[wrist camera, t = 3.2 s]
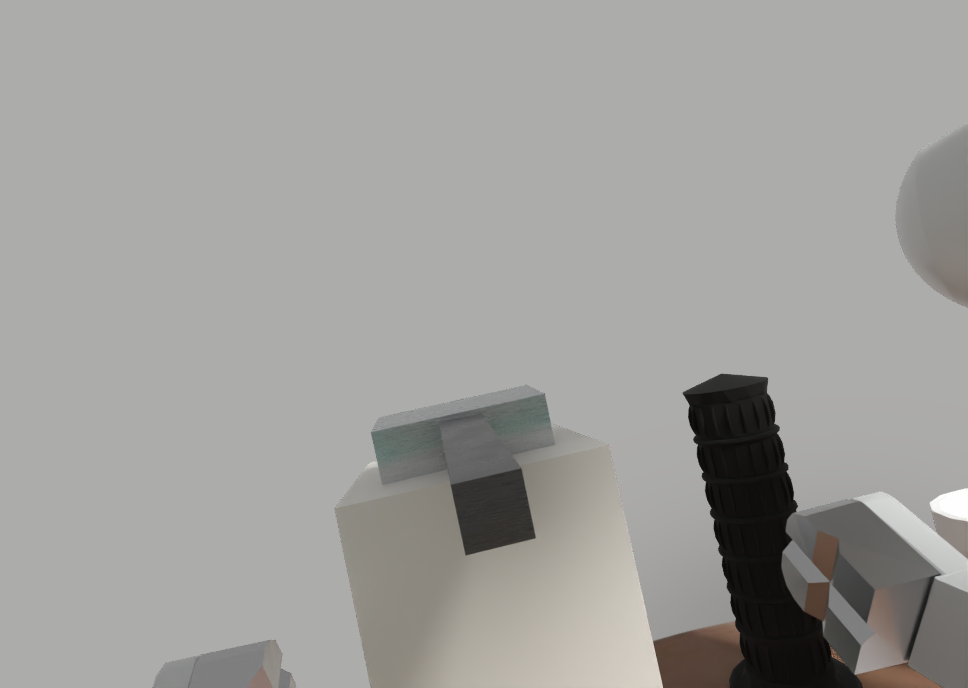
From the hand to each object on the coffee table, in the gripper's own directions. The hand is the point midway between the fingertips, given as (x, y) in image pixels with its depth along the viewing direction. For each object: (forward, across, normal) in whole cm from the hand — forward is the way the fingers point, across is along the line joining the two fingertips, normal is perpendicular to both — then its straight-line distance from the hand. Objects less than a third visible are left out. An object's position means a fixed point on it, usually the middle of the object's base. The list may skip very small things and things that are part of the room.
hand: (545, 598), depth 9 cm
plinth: (+11, 0, +38) cm, 40 cm away
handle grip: (+21, -24, +43) cm, 53 cm away
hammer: (+17, 0, +12) cm, 21 cm away
